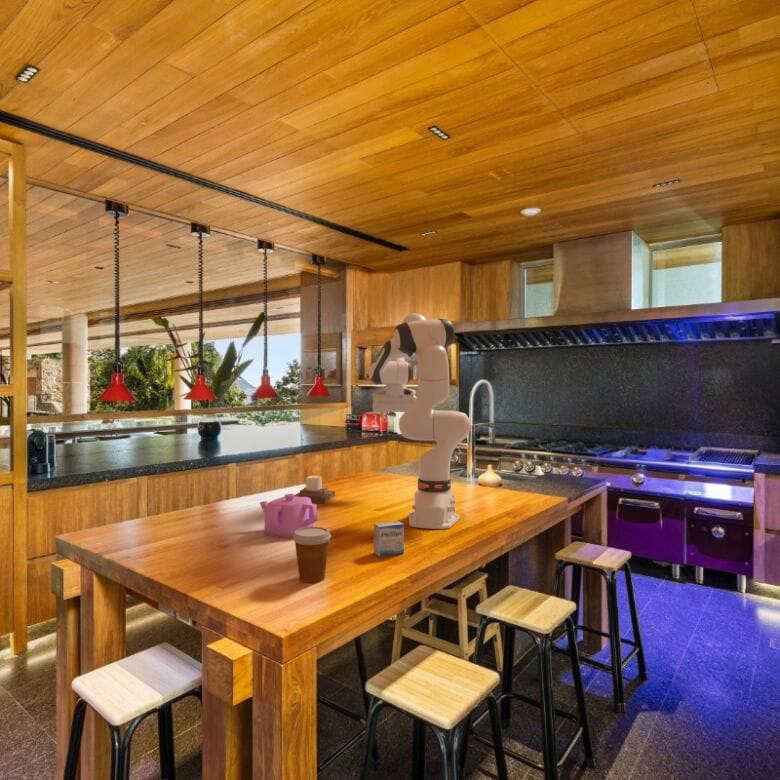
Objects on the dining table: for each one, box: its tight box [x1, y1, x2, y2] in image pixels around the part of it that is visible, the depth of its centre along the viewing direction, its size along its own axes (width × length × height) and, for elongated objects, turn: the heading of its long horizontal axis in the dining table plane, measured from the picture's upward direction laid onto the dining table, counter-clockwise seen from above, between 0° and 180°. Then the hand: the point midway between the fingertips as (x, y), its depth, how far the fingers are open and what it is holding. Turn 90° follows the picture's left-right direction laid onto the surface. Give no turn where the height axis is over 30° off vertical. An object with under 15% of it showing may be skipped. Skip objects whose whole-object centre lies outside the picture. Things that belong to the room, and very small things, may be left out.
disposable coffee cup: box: [292, 526, 332, 584], centre depth 135 cm, size 10×10×12 cm
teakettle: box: [259, 493, 319, 539], centre depth 176 cm, size 17×17×12 cm
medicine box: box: [373, 520, 405, 558], centre depth 154 cm, size 8×4×9 cm, turn 114°
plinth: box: [294, 486, 336, 504], centre depth 223 cm, size 14×14×4 cm
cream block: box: [305, 475, 323, 491], centre depth 223 cm, size 5×5×5 cm
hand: (395, 422), depth 235 cm, fingers open, 8 cm apart
